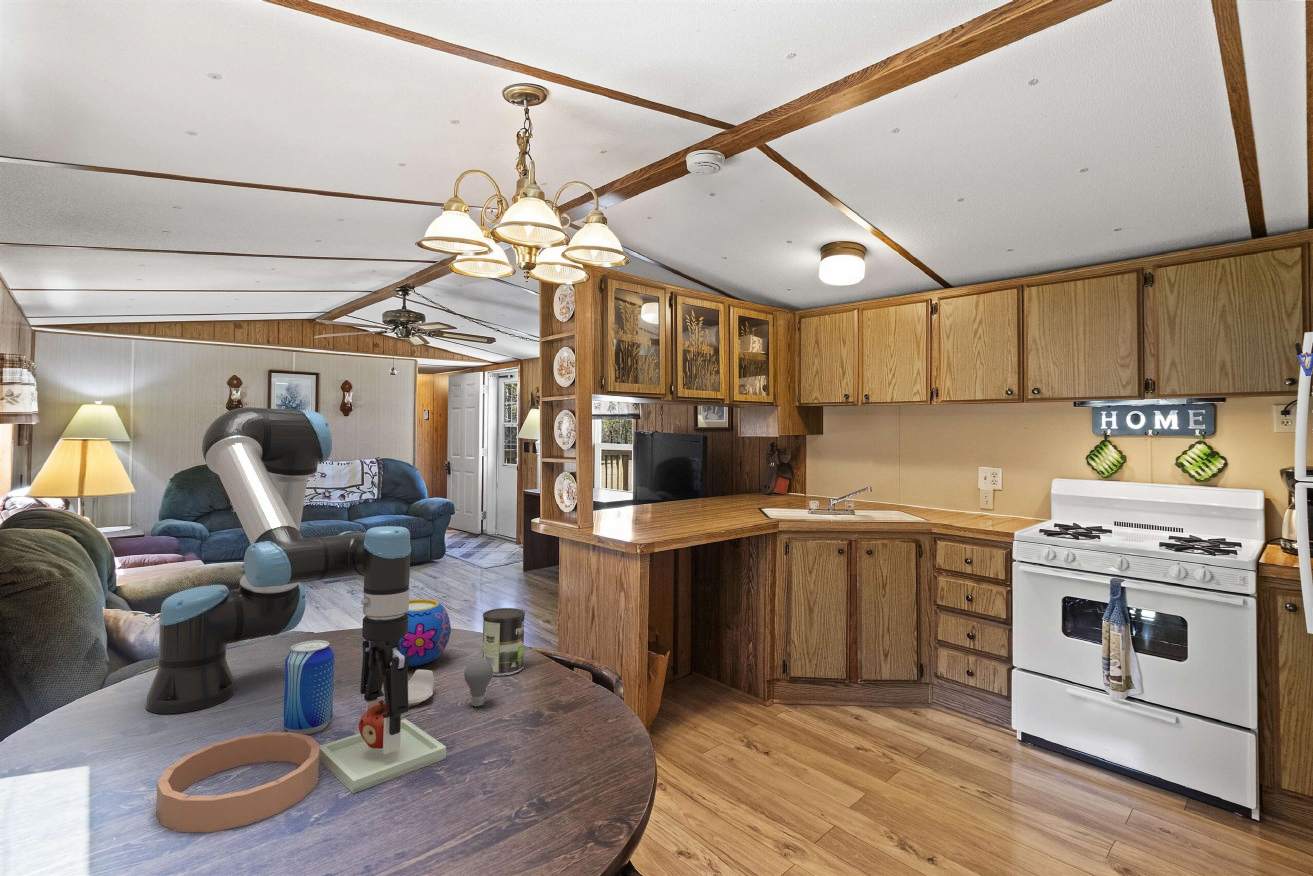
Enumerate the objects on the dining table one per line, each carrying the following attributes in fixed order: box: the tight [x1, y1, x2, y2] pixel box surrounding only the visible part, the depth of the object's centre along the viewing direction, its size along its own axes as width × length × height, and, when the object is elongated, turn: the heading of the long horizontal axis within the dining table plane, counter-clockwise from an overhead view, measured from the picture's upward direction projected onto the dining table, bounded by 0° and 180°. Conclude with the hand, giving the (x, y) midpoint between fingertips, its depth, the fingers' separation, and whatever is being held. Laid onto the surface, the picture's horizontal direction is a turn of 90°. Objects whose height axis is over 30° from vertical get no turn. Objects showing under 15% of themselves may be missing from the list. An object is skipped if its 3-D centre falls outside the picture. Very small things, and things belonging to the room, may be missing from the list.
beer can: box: [283, 639, 335, 735], centre depth 122 cm, size 8×8×16 cm
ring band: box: [155, 731, 321, 833], centre depth 99 cm, size 21×21×4 cm
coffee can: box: [481, 607, 526, 674], centre depth 155 cm, size 10×10×14 cm
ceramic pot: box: [399, 598, 452, 668], centre depth 158 cm, size 18×18×15 cm
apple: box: [358, 698, 387, 749], centre depth 110 cm, size 8×7×10 cm
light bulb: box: [463, 657, 494, 707], centre depth 133 cm, size 6×6×10 cm
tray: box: [320, 718, 447, 794], centre depth 110 cm, size 16×16×2 cm
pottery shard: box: [381, 669, 435, 708], centre depth 135 cm, size 10×11×5 cm
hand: (382, 743), depth 110 cm, fingers closed on apple, 7 cm apart
